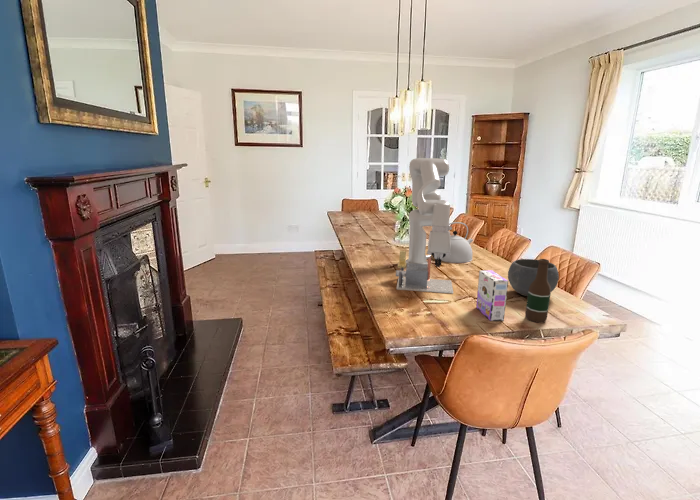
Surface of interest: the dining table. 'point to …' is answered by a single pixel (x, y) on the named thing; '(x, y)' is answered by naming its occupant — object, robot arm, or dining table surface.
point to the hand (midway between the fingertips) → (437, 266)
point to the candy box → (492, 295)
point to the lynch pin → (405, 271)
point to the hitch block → (422, 280)
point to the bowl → (529, 275)
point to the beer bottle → (539, 295)
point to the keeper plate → (402, 260)
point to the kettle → (459, 248)
